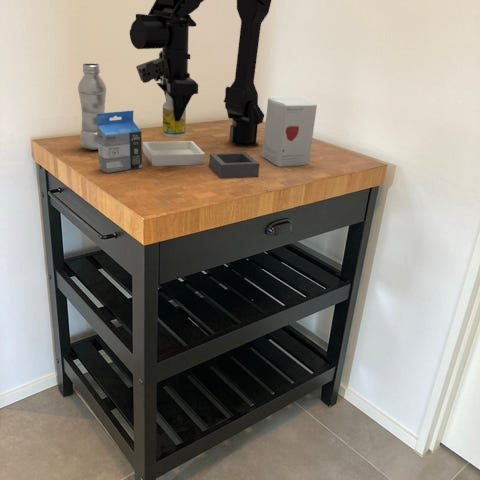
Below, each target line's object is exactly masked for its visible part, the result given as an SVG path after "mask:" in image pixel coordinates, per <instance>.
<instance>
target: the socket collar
mask: <svg viewBox="0 0 480 480" xmlns="http://www.w3.org/2000/svg"><path fill="white" fill-rule="evenodd" d="M208 160H209V161H208V162H209V163H208V166H209V167H210V168H211V169H212V170H213V172H214V173H216V175H217V176H218V177H219V178H220V179H228V178H247V177H249V178H252V177H259V172H260V163H259V162H258V160H256V159H255V158H254V157H252V156H251V155H250V154H249V153H247V152H246V151H245V152H243V151H239V152H211V153H210V152H209V159H208Z"/></svg>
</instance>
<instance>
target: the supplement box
mask: <svg viewBox="0 0 480 480" xmlns="http://www.w3.org/2000/svg"><path fill="white" fill-rule="evenodd" d="M317 107H318V105H317V104H316V103H314V102H311V101H308V100H305V99H303V98H301V97H268V98H267V106H266V116H265V123H264V124H265V126H264V133H263V134H264V135H263V143H262V153H261V157H262V158H264V159H265V160H267V161H269V162H271V163H272V164H273V165H275V166H277V167H278V168H279V167H291V166H293V167H294V166H295V167H296V166H305V165H308V166H309V165H310V157H311V151H312V150H311V149H312V144H313V137H314V128H315V123H316V122H315V121H316V114H317Z"/></svg>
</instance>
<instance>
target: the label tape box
mask: <svg viewBox="0 0 480 480" xmlns="http://www.w3.org/2000/svg"><path fill="white" fill-rule="evenodd" d="M115 117H117V118H121V119H114V120H113V119H112V118H115ZM110 119H112V120H110ZM97 135H98V164H99V165H98V166H99V170H100V171H102V172H104V173H107V174H109V173H115V172H116V173H117V172H122V171H128V170H134V169H139V168H143V142H142V131H141V130H140V128H139V127H138V125H137V124H136V123H135V122H134V110H122V111H113V112H112V111H111V112H105V113H98V114H97Z"/></svg>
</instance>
